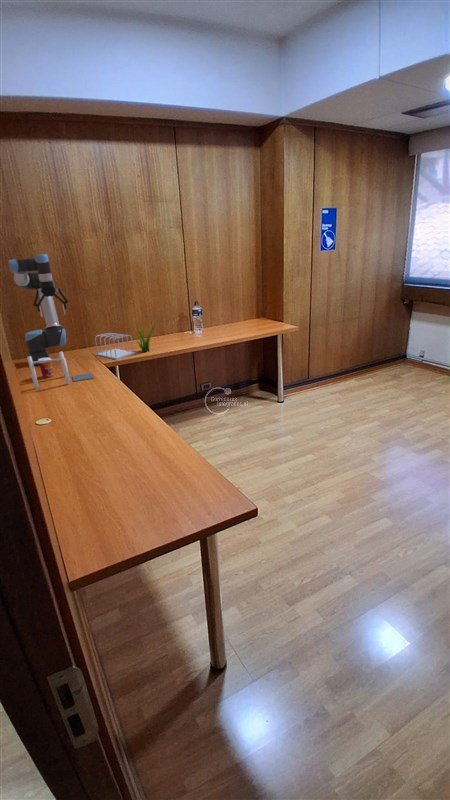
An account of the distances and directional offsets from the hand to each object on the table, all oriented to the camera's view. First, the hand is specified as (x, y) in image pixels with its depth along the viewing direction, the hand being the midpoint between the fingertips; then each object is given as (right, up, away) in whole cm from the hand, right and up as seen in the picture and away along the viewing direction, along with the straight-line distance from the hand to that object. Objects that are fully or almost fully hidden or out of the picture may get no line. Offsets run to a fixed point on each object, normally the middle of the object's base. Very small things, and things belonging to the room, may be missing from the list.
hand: (53, 315), depth 252 cm
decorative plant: (+50, -16, +54) cm, 75 cm away
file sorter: (+27, -20, +47) cm, 57 cm away
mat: (+20, -40, -3) cm, 44 cm away
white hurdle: (+3, -43, -10) cm, 44 cm away
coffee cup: (-4, -42, +4) cm, 42 cm away
